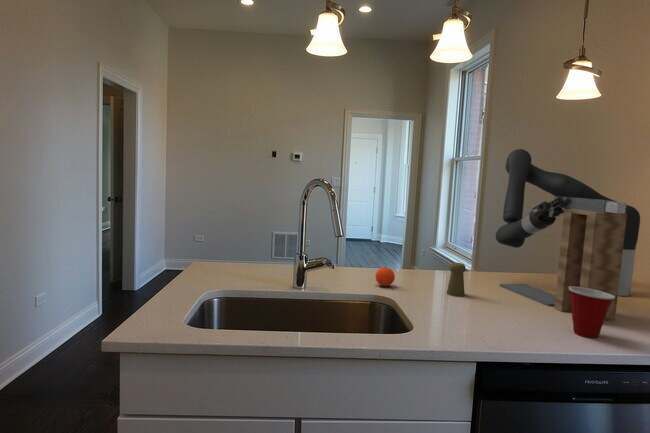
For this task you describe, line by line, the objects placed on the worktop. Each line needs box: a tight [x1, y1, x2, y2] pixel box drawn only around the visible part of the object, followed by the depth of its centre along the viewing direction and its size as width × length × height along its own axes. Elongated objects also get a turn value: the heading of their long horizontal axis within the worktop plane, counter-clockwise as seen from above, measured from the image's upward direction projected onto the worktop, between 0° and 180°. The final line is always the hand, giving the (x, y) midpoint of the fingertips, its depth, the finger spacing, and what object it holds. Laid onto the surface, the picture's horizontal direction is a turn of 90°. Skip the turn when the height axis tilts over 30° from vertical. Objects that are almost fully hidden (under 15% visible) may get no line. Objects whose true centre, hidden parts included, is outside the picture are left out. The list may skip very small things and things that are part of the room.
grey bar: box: [553, 195, 627, 213], centre depth 137 cm, size 4×24×4 cm, turn 14°
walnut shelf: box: [553, 208, 627, 321], centre depth 136 cm, size 11×12×32 cm
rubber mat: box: [499, 283, 556, 307], centre depth 158 cm, size 11×26×1 cm, turn 14°
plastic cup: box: [569, 286, 615, 339], centre depth 118 cm, size 11×11×12 cm
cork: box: [446, 262, 467, 298], centre depth 154 cm, size 6×6×11 cm
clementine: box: [375, 266, 397, 287], centre depth 161 cm, size 8×7×7 cm
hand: (571, 199), depth 144 cm, fingers open, 6 cm apart
